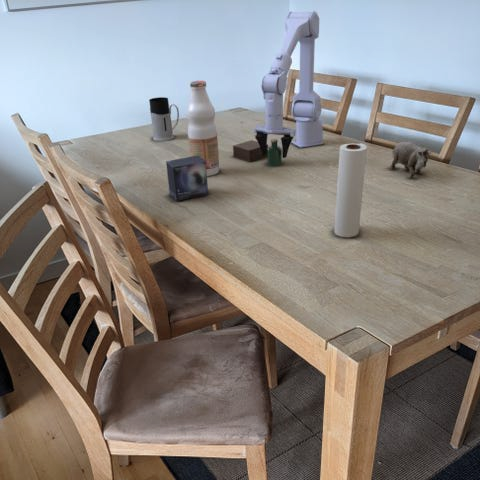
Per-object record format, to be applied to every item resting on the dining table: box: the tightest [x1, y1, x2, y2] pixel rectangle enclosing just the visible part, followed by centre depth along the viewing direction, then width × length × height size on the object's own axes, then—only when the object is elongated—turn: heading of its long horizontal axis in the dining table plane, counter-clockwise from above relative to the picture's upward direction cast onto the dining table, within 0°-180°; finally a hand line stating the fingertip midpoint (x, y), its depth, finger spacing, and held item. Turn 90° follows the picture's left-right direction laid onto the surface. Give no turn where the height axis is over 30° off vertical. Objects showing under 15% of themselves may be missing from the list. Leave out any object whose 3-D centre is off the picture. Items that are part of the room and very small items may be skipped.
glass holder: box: [148, 96, 180, 142], centre depth 203 cm, size 9×14×15 cm, turn 54°
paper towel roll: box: [333, 142, 368, 238], centre depth 120 cm, size 7×6×21 cm
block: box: [232, 139, 269, 163], centre depth 181 cm, size 9×9×4 cm
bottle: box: [266, 138, 283, 167], centre depth 172 cm, size 5×5×8 cm
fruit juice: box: [185, 80, 220, 177], centre depth 162 cm, size 9×9×28 cm
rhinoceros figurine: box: [389, 140, 432, 180], centre depth 157 cm, size 8×14×15 cm
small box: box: [165, 155, 209, 202], centre depth 150 cm, size 11×6×10 cm, turn 118°
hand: (274, 156), depth 172 cm, fingers open, 7 cm apart
